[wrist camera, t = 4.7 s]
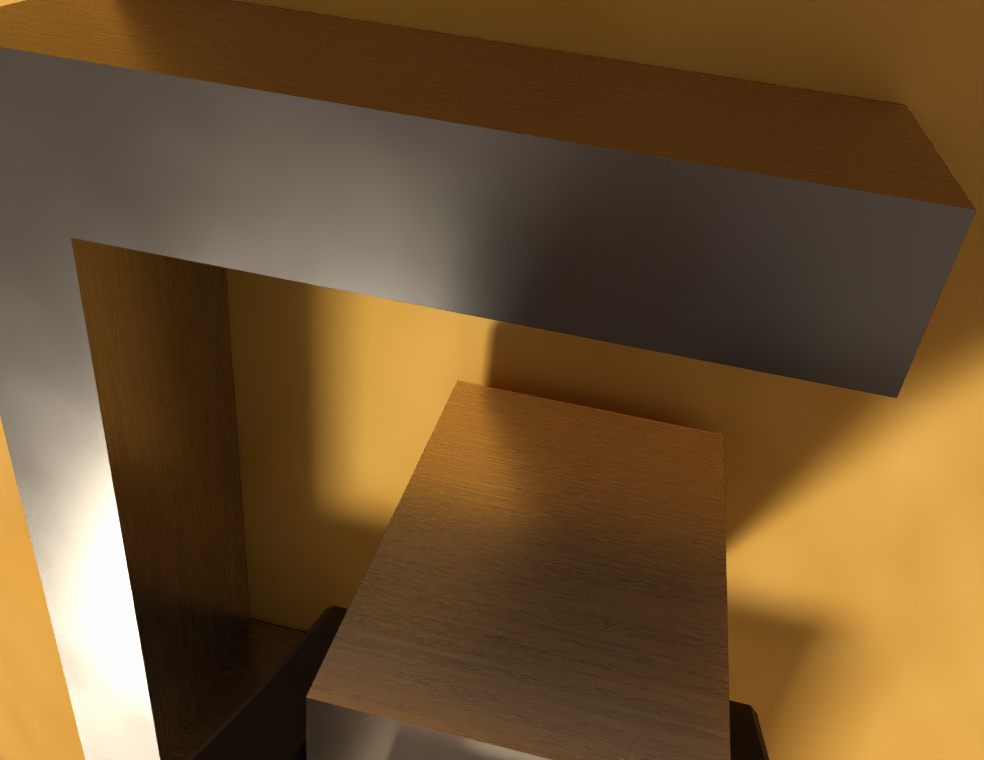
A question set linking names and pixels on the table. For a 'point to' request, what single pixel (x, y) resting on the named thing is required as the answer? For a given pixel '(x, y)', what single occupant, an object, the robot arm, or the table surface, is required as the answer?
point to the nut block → (539, 596)
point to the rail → (380, 272)
